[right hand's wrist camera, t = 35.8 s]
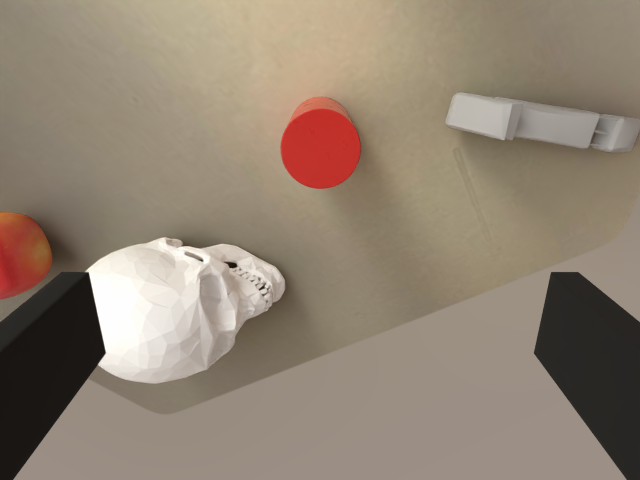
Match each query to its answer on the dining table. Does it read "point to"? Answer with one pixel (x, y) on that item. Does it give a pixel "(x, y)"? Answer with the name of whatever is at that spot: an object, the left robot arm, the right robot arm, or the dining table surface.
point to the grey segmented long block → (541, 123)
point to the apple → (21, 254)
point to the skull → (176, 306)
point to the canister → (320, 144)
